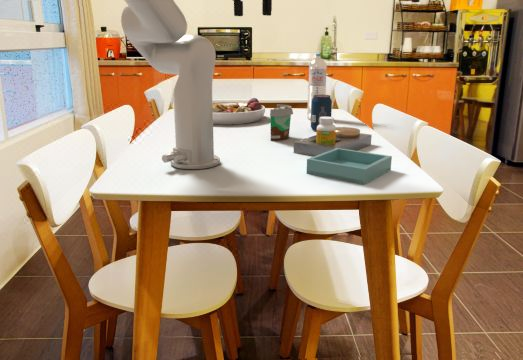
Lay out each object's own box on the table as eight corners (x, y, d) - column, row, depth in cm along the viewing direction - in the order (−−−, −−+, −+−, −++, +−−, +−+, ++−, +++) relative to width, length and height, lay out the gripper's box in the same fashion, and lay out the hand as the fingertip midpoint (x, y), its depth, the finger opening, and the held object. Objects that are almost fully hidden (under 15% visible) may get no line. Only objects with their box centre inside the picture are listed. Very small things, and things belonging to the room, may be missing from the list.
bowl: (206, 129, 170) (205, 107, 168) (177, 117, 195) (176, 97, 193) (279, 122, 184) (279, 101, 182) (243, 111, 209) (243, 93, 207)
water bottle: (327, 118, 191) (330, 53, 183) (319, 121, 185) (322, 54, 178) (312, 117, 194) (314, 53, 187) (304, 119, 189) (306, 53, 181)
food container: (289, 142, 148) (290, 110, 145) (269, 141, 149) (270, 109, 146) (294, 134, 160) (295, 104, 157) (276, 134, 161) (277, 104, 158)
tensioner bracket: (334, 159, 128) (335, 142, 127) (293, 152, 136) (294, 136, 134) (370, 144, 146) (371, 129, 145) (332, 139, 153) (333, 125, 152)
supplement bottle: (319, 154, 134) (320, 119, 131) (313, 149, 139) (314, 116, 136) (337, 153, 135) (339, 118, 132) (331, 149, 140) (332, 115, 137)
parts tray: (364, 184, 107) (365, 169, 106) (306, 173, 115) (306, 159, 114) (390, 170, 118) (391, 156, 117) (336, 160, 127) (336, 147, 126)
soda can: (321, 127, 172) (322, 93, 169) (334, 130, 167) (336, 95, 163) (306, 129, 168) (307, 95, 165) (319, 133, 163) (320, 97, 159)
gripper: (217, -52, 129) (219, 16, 134) (270, -59, 119) (270, 14, 124) (235, -48, 134) (236, 16, 139) (287, -55, 125) (286, 15, 130)
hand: (252, 15), depth 132 cm, fingers open, 9 cm apart
